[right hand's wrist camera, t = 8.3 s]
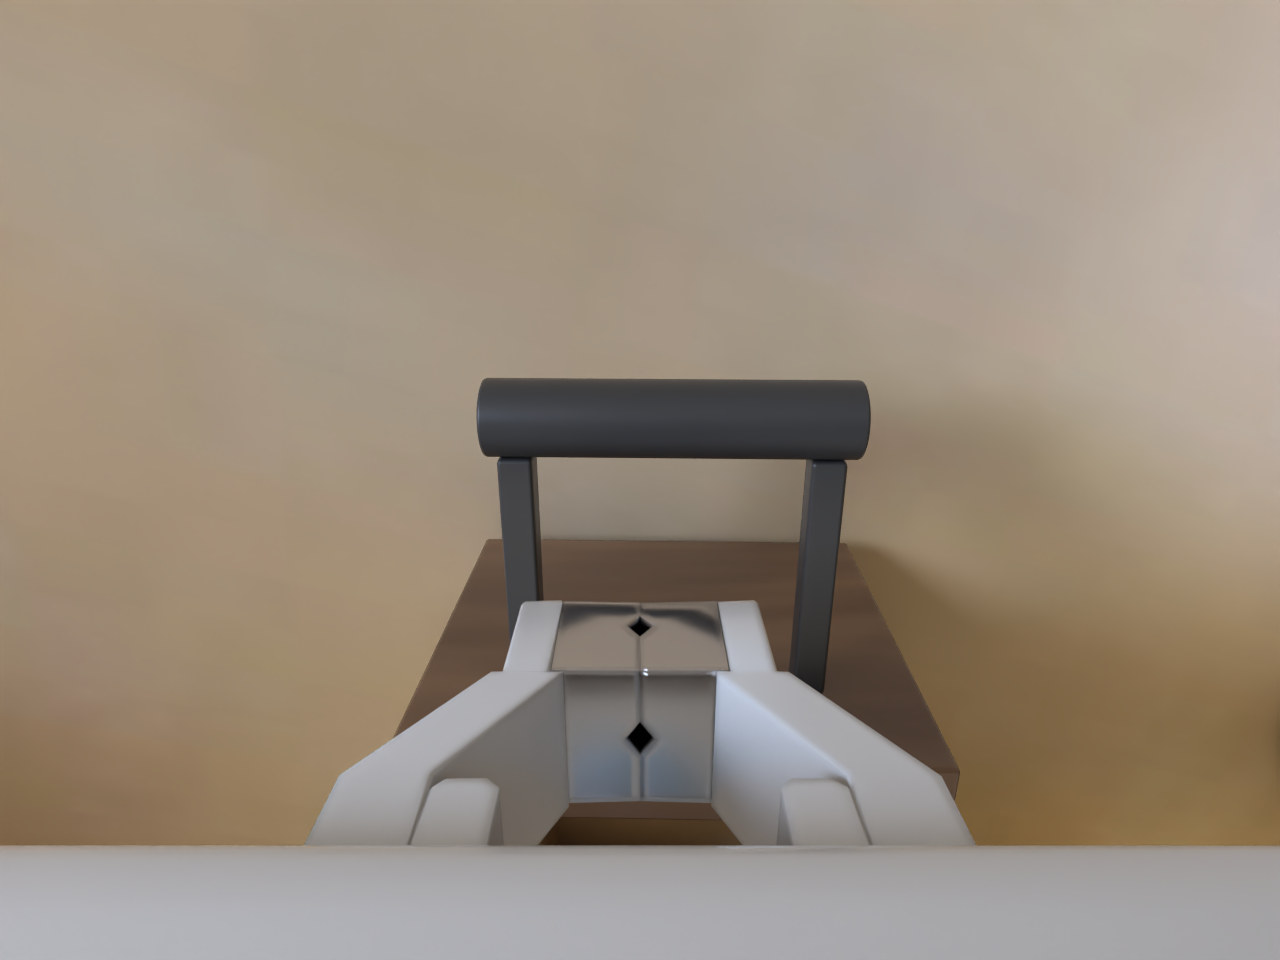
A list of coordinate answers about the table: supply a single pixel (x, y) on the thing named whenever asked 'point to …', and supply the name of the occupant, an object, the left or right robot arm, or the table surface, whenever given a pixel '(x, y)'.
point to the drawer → (685, 560)
